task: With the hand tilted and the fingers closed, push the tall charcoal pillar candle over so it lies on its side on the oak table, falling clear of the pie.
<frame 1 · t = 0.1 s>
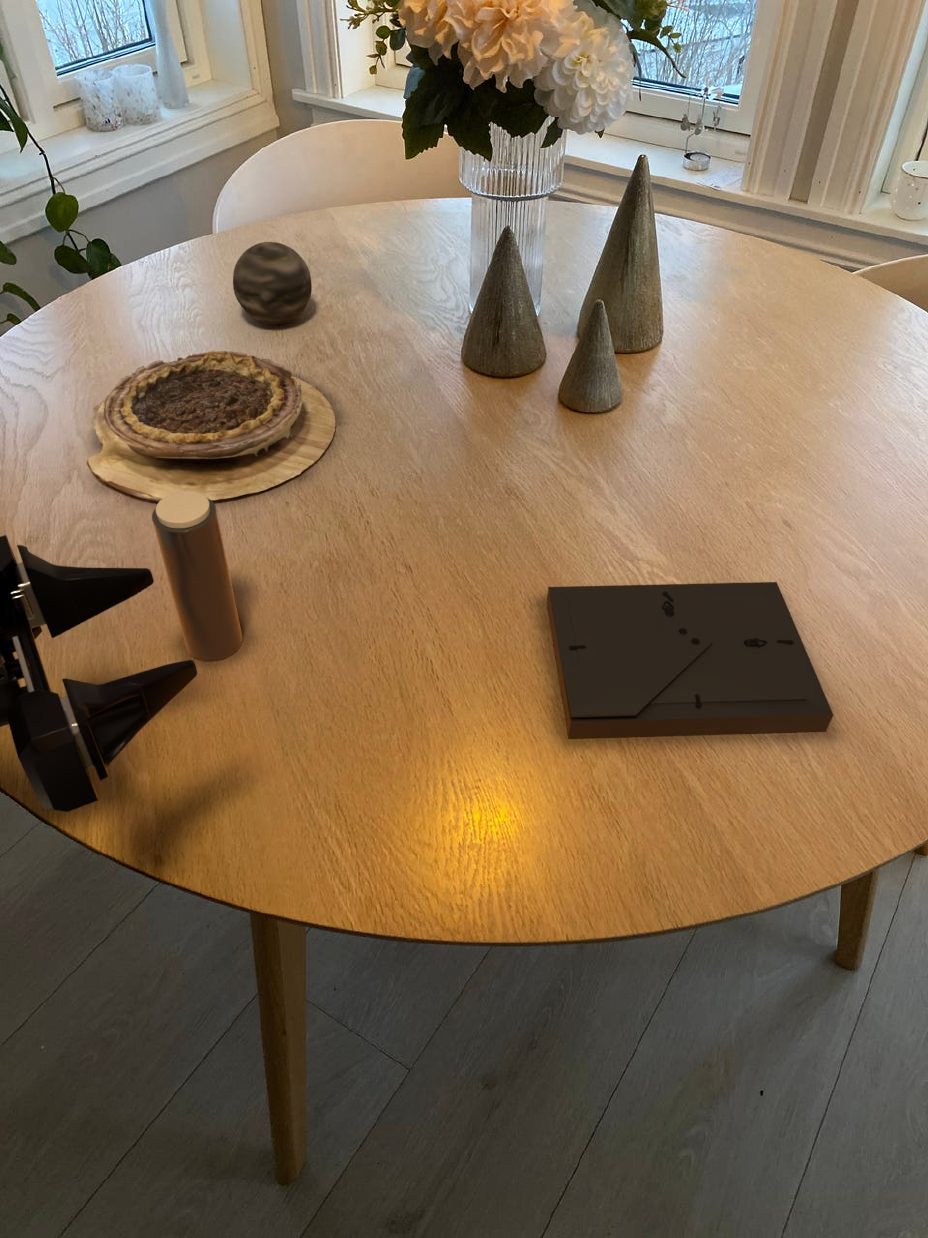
hand: (172, 619, 59), 18 cm above the table, tool horizontal, fingers open, 9 cm apart
picture frame: (677, 665, 82), on the table
decorative stone: (277, 321, 126), on the table
pie: (211, 433, 107), on the table
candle: (214, 641, 83), on the table
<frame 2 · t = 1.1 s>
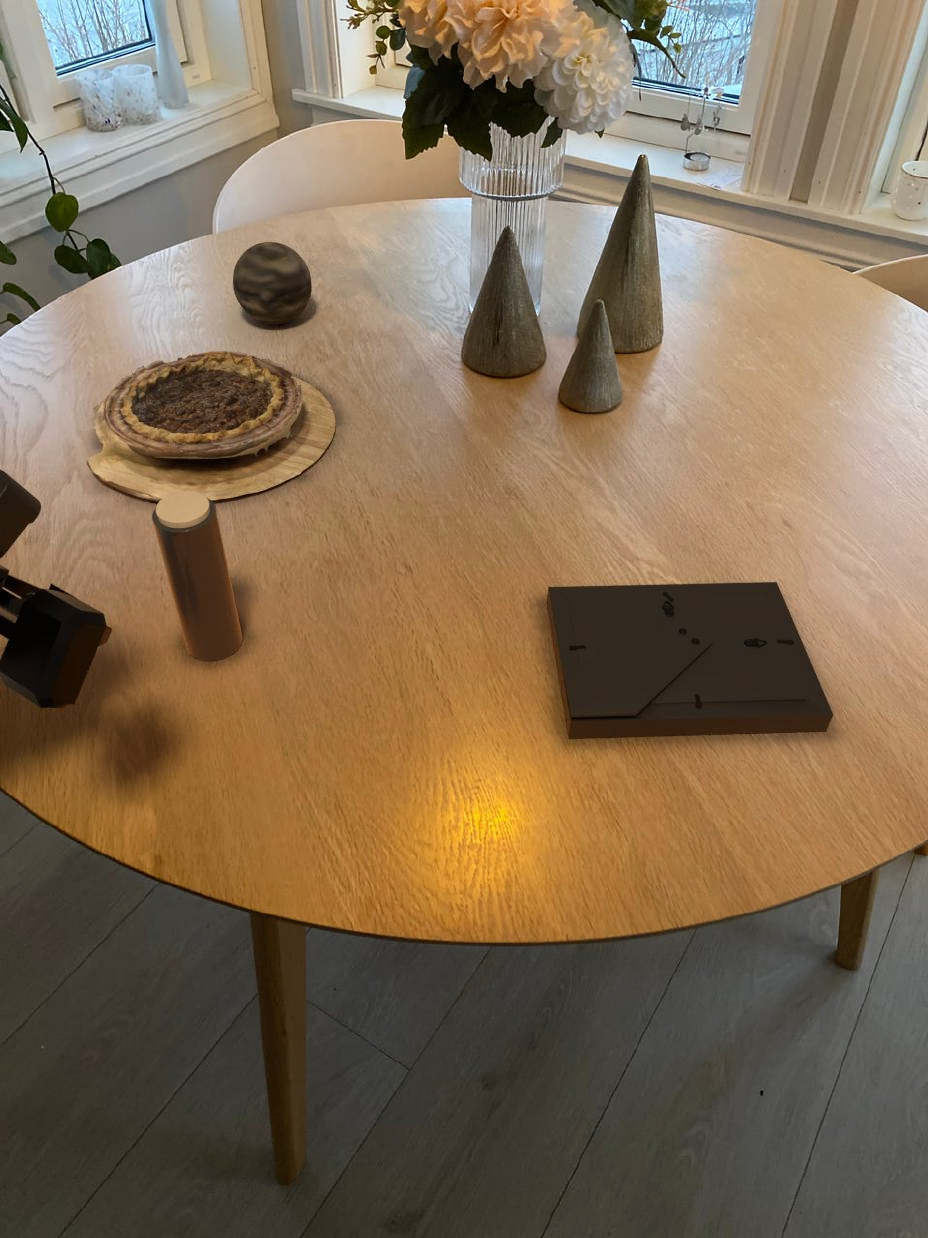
hand: (78, 616, 67), 13 cm above the table, tool tilted 45°, fingers open, 6 cm apart
nothing on the table moved.
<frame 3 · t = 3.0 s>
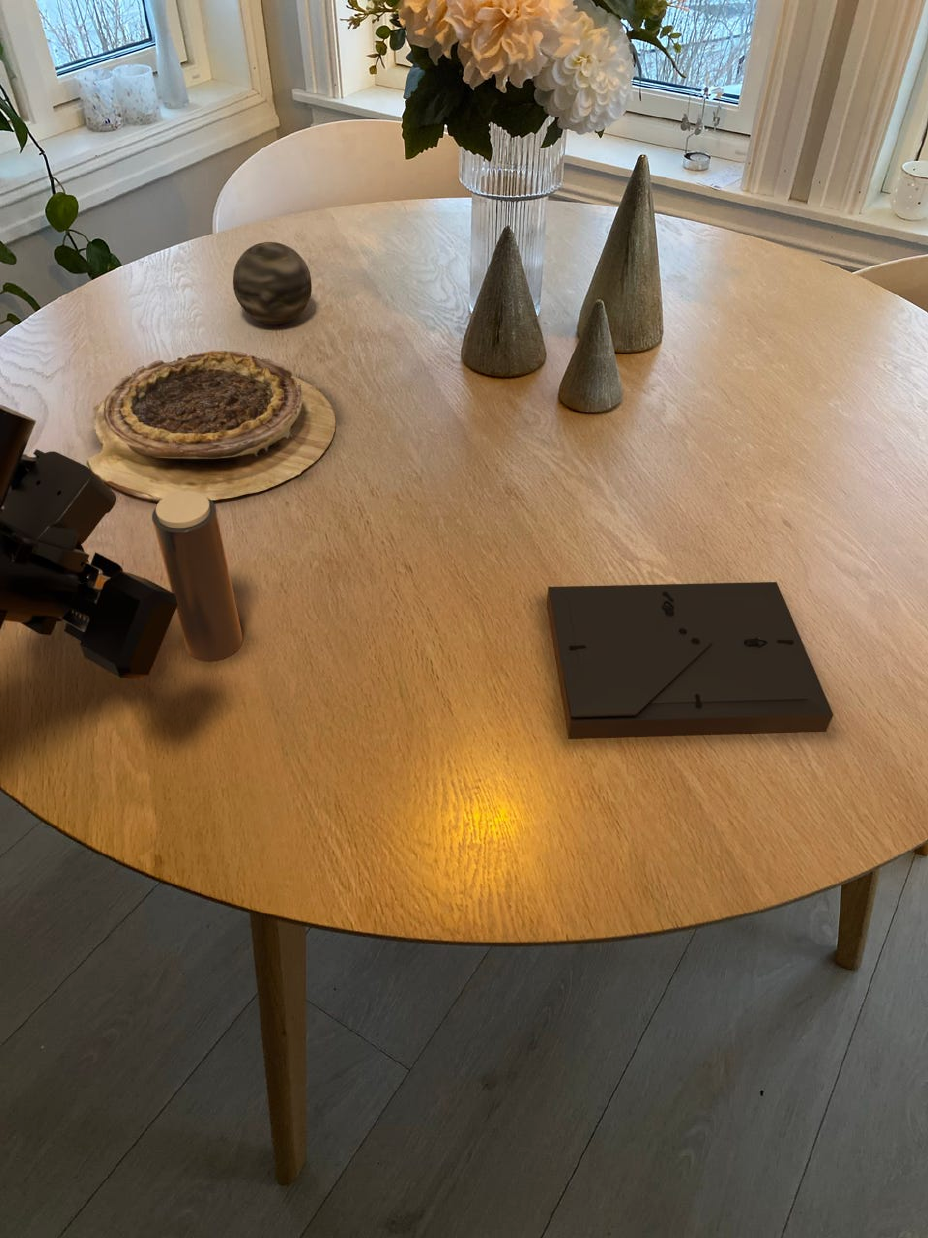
hand: (140, 599, 73), 9 cm above the table, tool tilted 45°, fingers closed
nothing on the table moved.
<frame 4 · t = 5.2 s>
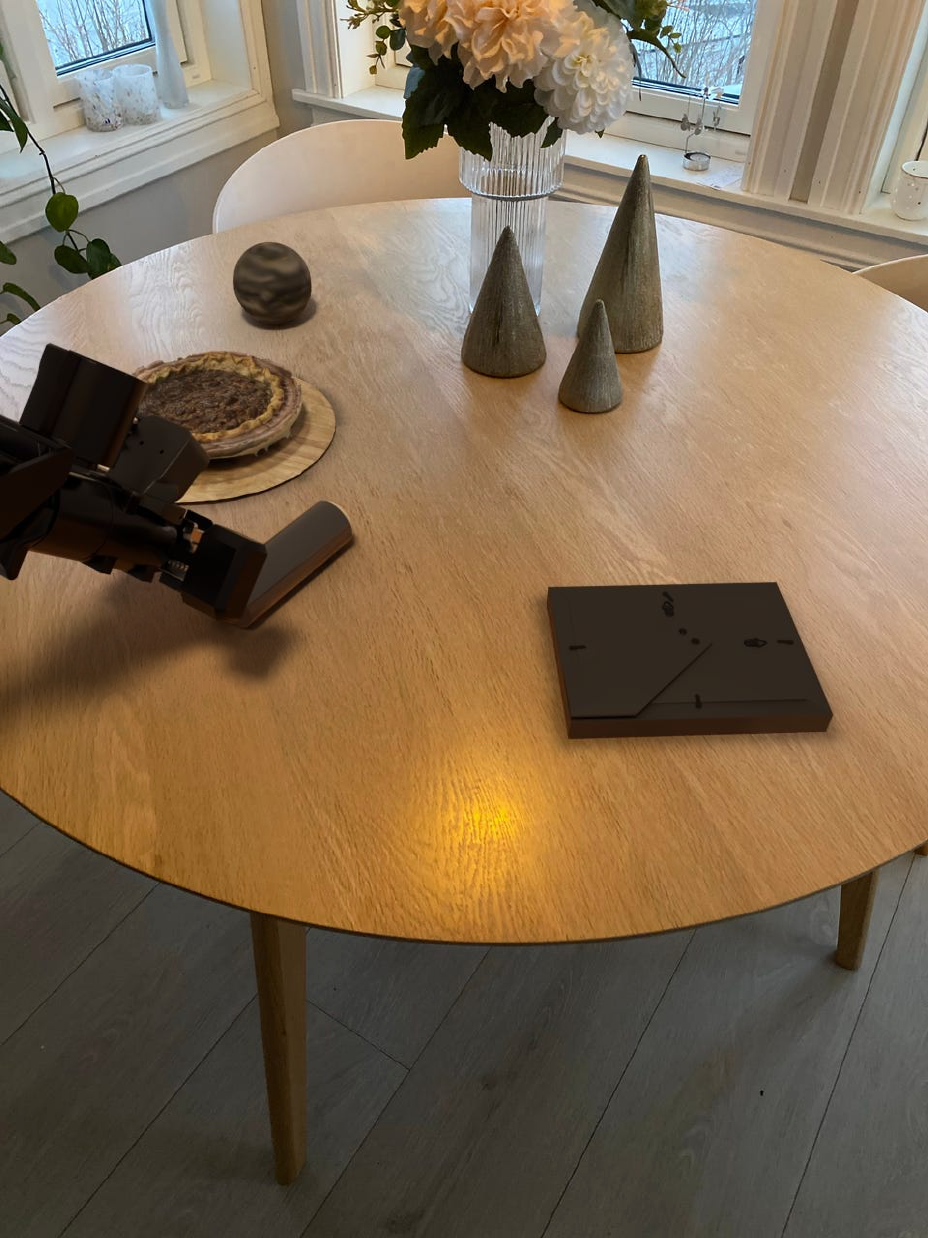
hand: (221, 556, 79), 8 cm above the table, tool tilted 45°, fingers closed
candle: (230, 604, 83), point 2 cm above the table, tilted 90°
everything else where it was.
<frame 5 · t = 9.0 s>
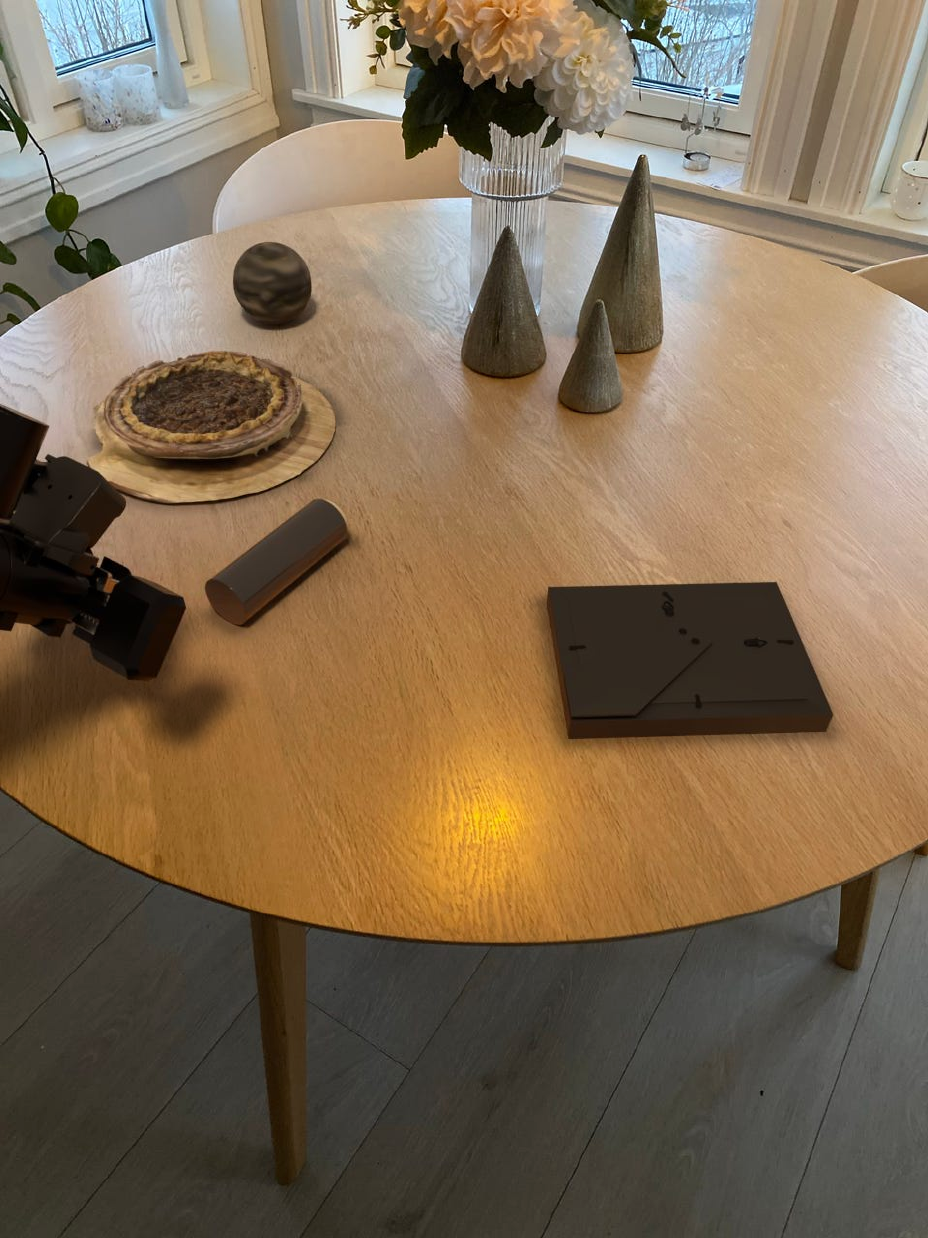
hand: (147, 603, 74), 8 cm above the table, tool tilted 45°, fingers closed
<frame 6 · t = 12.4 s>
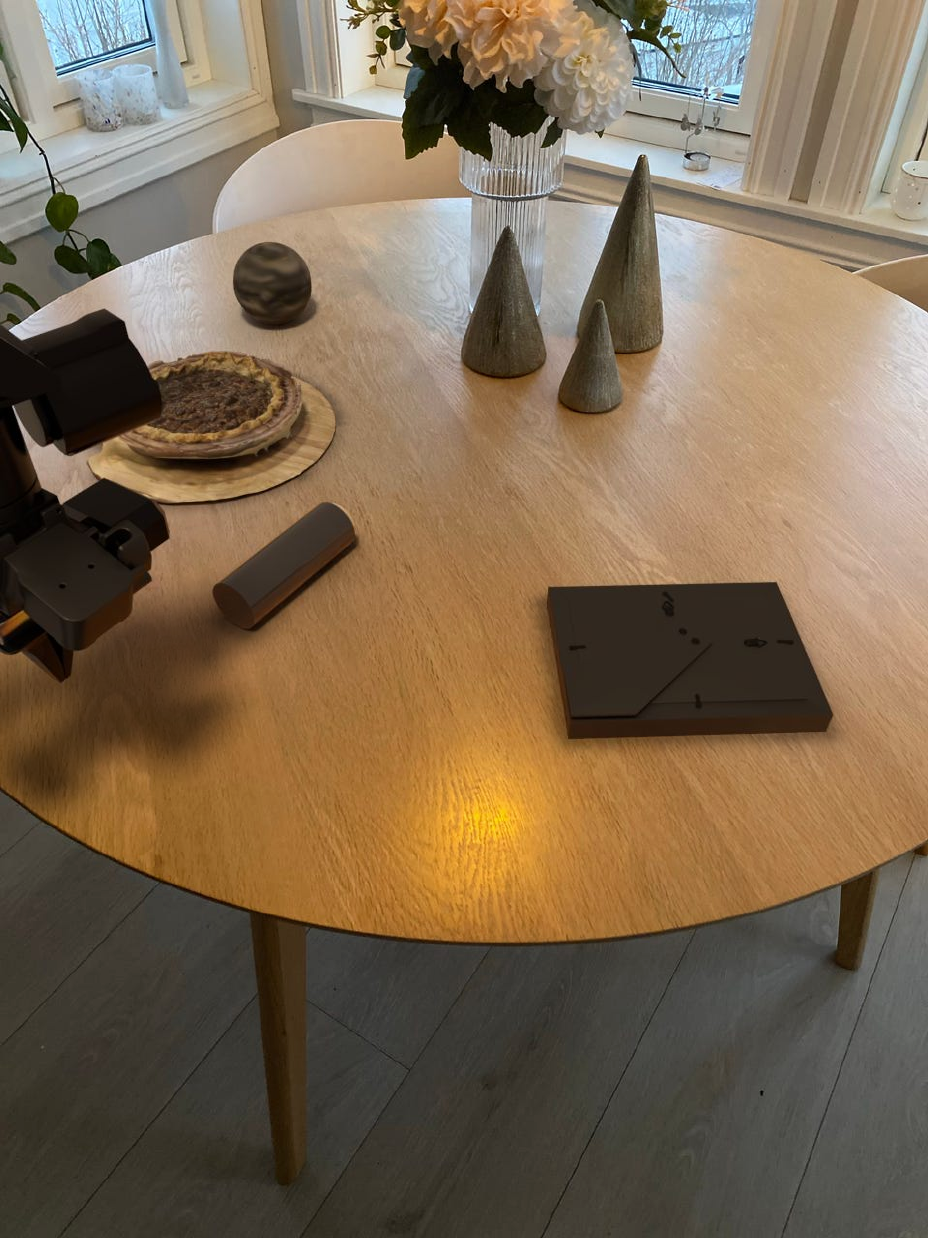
hand: (61, 677, 64), 12 cm above the table, tool pointing down, fingers closed
at the end: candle tilted 90°; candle touching table; pie moved 0.2 cm from its start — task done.
